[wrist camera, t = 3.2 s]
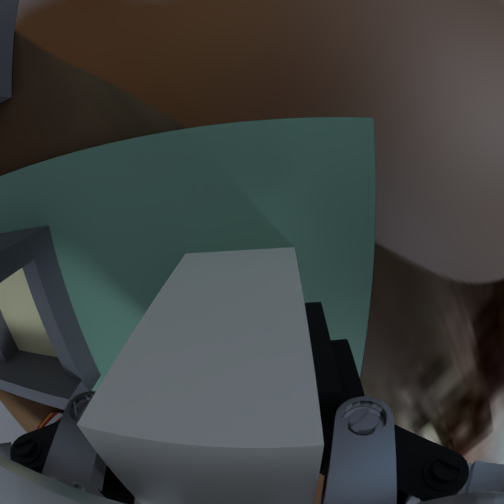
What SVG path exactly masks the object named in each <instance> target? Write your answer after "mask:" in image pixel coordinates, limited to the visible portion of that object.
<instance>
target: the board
mask: <svg viewBox="0 0 504 504" xmlns="http://www.w3.org/2000/svg"><path fill="white" fill-rule="evenodd" d="M375 157H376V156H375V133H374V118H366V117H365V118H363V117H312V118H286V119H270V120H256V121H245V122H234V123H225V124H216V125H209V126H201V127H194V128H187V129H180V130H174V131H168V132H162V133H157V134H151V135H146V136H141V137H136V138H131V139H126V140H122V141H117V142H113V143H108V144H104V145H100V146H96V147H92V148H88V149H84V150H80V151H77V152H73V153H69V154H66V155H62V156H59V157H56V158H52V159H49V160H46V161H43V162H39V163H36V164H33V165H30V166H27V167H24V168H21V169H19V170H16V171H13V172H10V173H7V174H5V175H2V176H0V389H1V390H4V391H7V392H9V393H12V394H15V395H18V396H20V397H23V398H26V399H29V400H32V401H35V402H38V403H42V404H45V405H48V406H52V407H55V408H59V409H62V410H65V408H66V406H67V404H68V402H69V401H70V400H71V399H72V398H73V397H75V396H76V395H78V394H80V393H83V392H88V391H95V392H96V391H97V389H98V387H99V386H100V384H101V382H102V381H103V379H104V377H105V376H106V374H107V372H108V371H109V369H110V368H111V366H112V364H113V363H114V361H115V360H116V358H117V356H118V355H119V353H120V352H121V350H122V348H123V347H124V345H125V344H126V342H127V340H128V339H129V337H130V336H131V334H132V333H133V331H134V329H135V328H136V326H137V325H138V323H139V322H140V320H141V319H142V317H143V316H144V314H145V313H146V311H147V310H148V308H149V307H150V305H151V304H152V302H153V301H154V299H155V298H156V296H157V295H158V293H159V292H160V290H161V289H162V287H163V286H164V284H165V283H166V281H167V280H168V278H169V277H170V275H171V274H172V272H173V271H174V270H175V268H176V267H177V265H178V264H179V262H180V261H181V259H182V258H183V257H184V255H185V254H186V253H202V252H219V251H236V250H253V249H270V248H287V247H295V252H296V258H297V263H298V269H299V275H300V281H301V286H302V292H303V298H304V303H308V302H321V303H322V307H323V311H324V315H325V319H326V323H327V327H328V331H329V335H330V339H331V340H339V339H347V340H348V342H349V345H350V348H351V351H352V354H353V358H354V361H355V364H356V367H357V371H358V374H359V378H360V373H361V367H362V361H363V354H364V348H365V341H366V333H367V326H368V317H369V309H370V299H371V289H372V277H373V263H374V247H375V223H376V158H375Z"/></svg>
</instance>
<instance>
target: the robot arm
mask: <svg viewBox="0 0 504 504" xmlns="http://www.w3.org/2000/svg"><path fill="white" fill-rule="evenodd" d="M304 304H305V310H306V317H307V323H308V329H309V336H310V342H311V349H312V356H313V363H314V370H315V377H316V384H317V391H318V399H319V407H320V415H321V423H322V431H323V440H324V448H323V454H322V460H321V466H320V472H319V473H321V474H322V475H324V480H323V486H322V493H321V499H320V504H504V465H503V464H496V463H488V462H482V461H475V462H474V463H473V464H472V463H467V461H466V460H465V459H464V458H463V456H462V455H460V454H459V453H457V452H455V451H453V450H450V449H448V448H446V447H443V446H441V445H439V444H436V443H434V442H432V441H429V440H427V439H425V438H423V437H420V436H418V435H416V434H414V433H412V432H409V431H407V430H405V429H403V428H401V427H399V426H397V425H394V418H393V414H392V410H391V409H390V408H389V406H388V405H387V404H386V403H384V402H383V401H381V400H379V399H377V398H374V397H367V396H365V395H364V391H363V388H362V384H361V381H360V378H359V374H358V371H357V367H356V364H355V361H354V358H353V354H352V351H351V348H350V345H349V342H348V340H347V339H339V340H331V339H330V335H329V331H328V327H327V323H326V319H325V315H324V311H323V307H322V303H321V302H308V303H304ZM94 394H95V391H88V392H83V393H80V394H78V395H76V396H75V397H73V398H72V399H71V400H70V401H69V402H68V404H67V406H66V408H65V410H64V413H63V415H62V418H61V420H59V421H57V422H55V423H52V424H50V425H47V426H45V427H42V428H39V429H37V430H34V431H32V432H29V433H26V434H24V435H22V436H20V437H19V438H18V439H17V440H16V441H14V443H13V444H12V443H11V442H8V443H1V444H0V504H141V503H140V502H139V501H138V500H137V499H136V498H135V497H134V496H133V494H132V493H131V492H130V491H129V490H128V489H127V488H126V487H125V486H124V485H123V483H122V482H121V481H120V480H119V479H118V478H117V477H116V475H115V474H114V473H113V472H112V471H111V469H110V468H109V467H108V466H107V465H106V463H105V462H104V461H103V460H102V458H101V457H100V456H99V454H98V453H97V452H96V451H95V449H94V448H93V447H92V445H91V444H90V443H89V441H88V440H87V438H86V437H85V436H84V434H83V433H82V431H81V430H80V429H79V427H78V426H77V423H78V422H79V420H80V418H81V416H82V415H83V413H84V411H85V409H86V408H87V406H88V404H89V403H90V401H91V399H92V397H93V396H94Z"/></svg>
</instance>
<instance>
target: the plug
mask: <svg viewBox="0 0 504 504" xmlns="http://www.w3.org/2000/svg"><path fill="white" fill-rule="evenodd" d="M77 426H78V427H79V429H80V430H81V431H82V433H83V434H84V436H85V437H86V438H87V440H88V441H89V443H90V444H91V445H92V447H93V448H94V449H95V451H96V452H97V453H98V454H99V456H100V457H101V458H102V460H103V461H104V462H105V463H106V465H107V466H108V467H109V468H110V469H111V471H112V472H113V473H114V474H115V475H116V477H117V478H118V479H119V480H120V481H121V482H122V483H123V485H124V486H125V487H126V488H127V489H128V490H129V491H130V492H131V493H132V494H133V496H134V497H135V498H136V499H137V500H138V501H139V502H140V503H141V504H313V503H314V498H315V493H316V488H317V483H318V477H319V472H320V466H321V460H322V454H323V448H324V440H323V431H322V423H321V415H320V407H319V399H318V391H317V384H316V377H315V370H314V363H313V356H312V349H311V342H310V336H309V329H308V323H307V317H306V310H305V304H304V298H303V292H302V286H301V281H300V275H299V269H298V263H297V258H296V252H295V247H287V248H270V249H253V250H236V251H219V252H202V253H186V254H185V255H184V257H183V258H182V259H181V261H180V262H179V264H178V265H177V267H176V268H175V270H174V271H173V272H172V274H171V275H170V277H169V278H168V280H167V281H166V283H165V284H164V286H163V287H162V289H161V290H160V292H159V293H158V295H157V296H156V298H155V299H154V301H153V302H152V304H151V305H150V307H149V308H148V310H147V311H146V313H145V314H144V316H143V317H142V319H141V320H140V322H139V323H138V325H137V326H136V328H135V329H134V331H133V333H132V334H131V336H130V337H129V339H128V340H127V342H126V344H125V345H124V347H123V348H122V350H121V352H120V353H119V355H118V356H117V358H116V360H115V361H114V363H113V364H112V366H111V368H110V369H109V371H108V372H107V374H106V376H105V377H104V379H103V381H102V382H101V384H100V386H99V387H98V389H97V391H96V392H95V394H94V396H93V397H92V399H91V401H90V403H89V404H88V406H87V408H86V409H85V411H84V413H83V415H82V416H81V418H80V420H79V422H78V423H77Z"/></svg>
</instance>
